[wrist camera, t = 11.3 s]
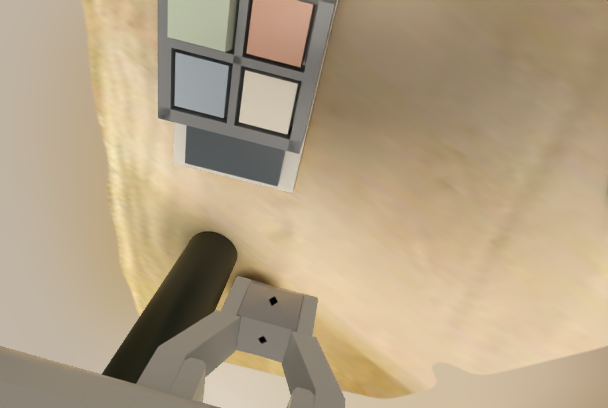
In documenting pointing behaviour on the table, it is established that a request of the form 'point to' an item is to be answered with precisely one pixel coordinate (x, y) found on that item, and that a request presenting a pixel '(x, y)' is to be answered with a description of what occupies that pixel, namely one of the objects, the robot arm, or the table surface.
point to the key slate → (202, 83)
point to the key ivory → (268, 100)
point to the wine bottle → (177, 303)
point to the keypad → (229, 131)
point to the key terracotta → (280, 30)
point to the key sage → (204, 22)
